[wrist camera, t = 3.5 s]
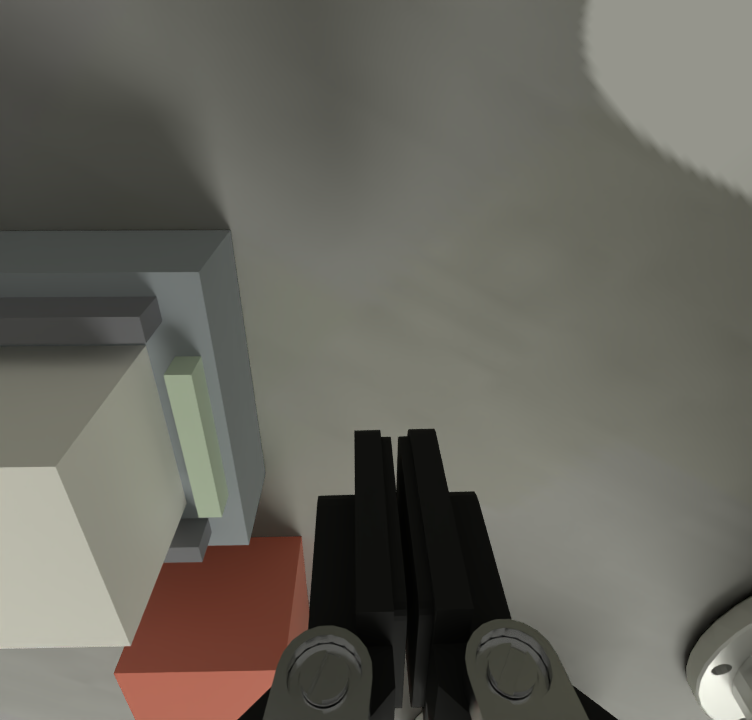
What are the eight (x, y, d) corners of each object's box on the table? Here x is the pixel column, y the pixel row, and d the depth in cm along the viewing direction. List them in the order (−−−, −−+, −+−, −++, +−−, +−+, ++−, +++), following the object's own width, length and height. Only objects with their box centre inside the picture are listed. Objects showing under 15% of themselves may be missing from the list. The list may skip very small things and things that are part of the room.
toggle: (145, 345, 12) (55, 466, 8) (186, 503, 14) (131, 645, 11) (-79, 347, 12) (-264, 470, 8) (3, 505, 14) (-113, 651, 11)
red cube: (301, 534, 20) (284, 670, 15) (309, 614, 22) (296, 750, 18) (169, 536, 19) (113, 673, 15) (192, 616, 22) (151, 753, 18)
